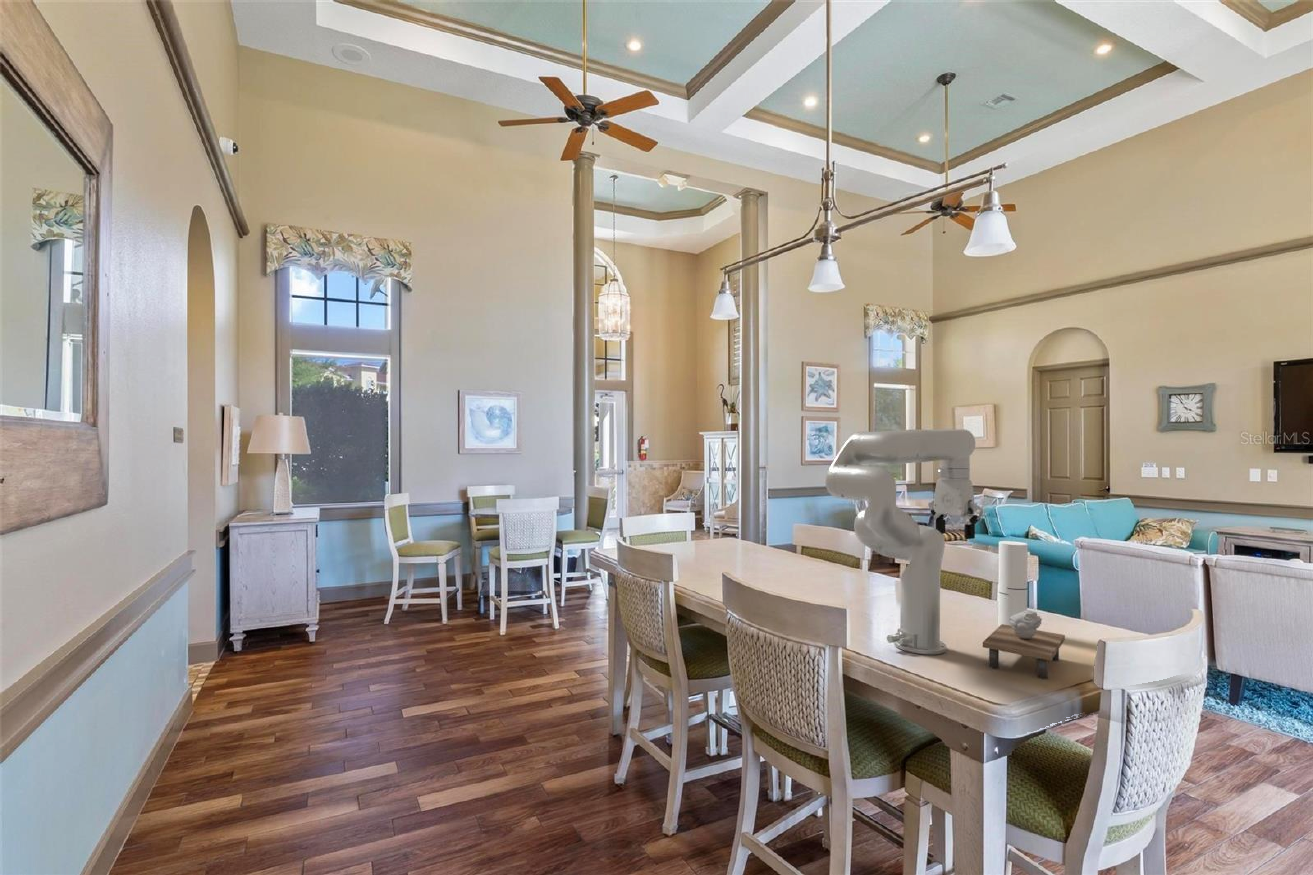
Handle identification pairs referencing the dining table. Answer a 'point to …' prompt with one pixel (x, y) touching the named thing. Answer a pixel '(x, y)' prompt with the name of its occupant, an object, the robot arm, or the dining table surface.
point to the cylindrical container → (1012, 580)
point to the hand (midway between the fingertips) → (954, 536)
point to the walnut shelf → (1024, 647)
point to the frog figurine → (1025, 624)
